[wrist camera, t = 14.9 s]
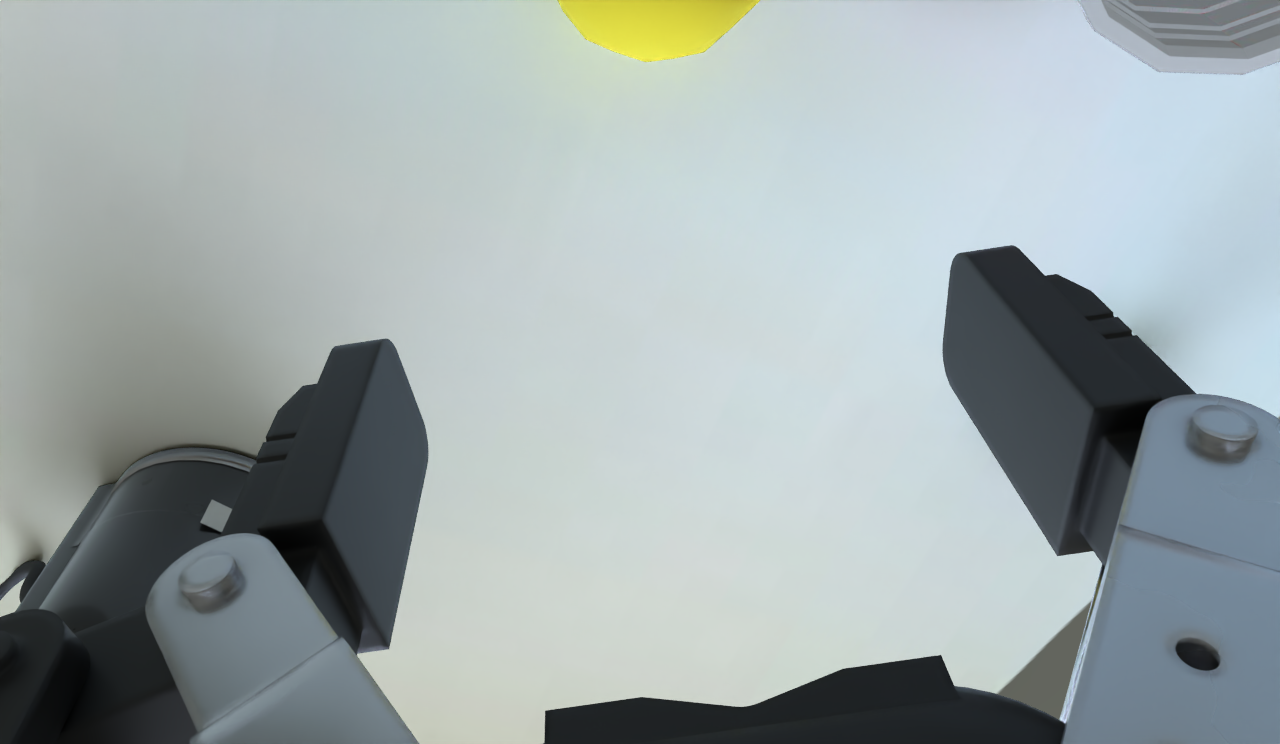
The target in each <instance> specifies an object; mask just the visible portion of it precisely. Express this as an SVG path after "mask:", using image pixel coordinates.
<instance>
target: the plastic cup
mask: <svg viewBox="0 0 1280 744" xmlns="http://www.w3.org/2000/svg"><path fill="white" fill-rule="evenodd" d="M1078 3H1079V5H1080V7H1081V9H1082V11H1083V13H1084V15H1085V18H1086V20H1087V21H1088V23H1089V24H1090V26H1091V27H1092V29H1093V30H1094V31H1095V32H1097V33H1098V34H1100V35H1101V36H1103V37H1105V38H1106V39H1108V40H1109V41H1111V42H1112V43H1114V44H1116V45H1117V46H1119V47H1120V48H1122V49H1123V50H1125V51H1127V52H1128V53H1130V54H1131V55H1133V56H1134V57H1136V58H1138V59H1139V60H1141V61H1142V62H1144V63H1145V64H1147V65H1149V66H1150V67H1152V68H1153V69H1155V70H1156V71H1158V72H1173V73H1204V74H1234V75H1243V74H1246V73H1249V72H1252V71H1255V70H1257V69H1260V68H1263V67H1266V66H1268V65H1271V64H1274V63H1277V62H1280V0H1078Z"/></svg>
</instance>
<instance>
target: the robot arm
mask: <svg viewBox="0 0 1280 744" xmlns="http://www.w3.org/2000/svg"><path fill="white" fill-rule="evenodd" d="M943 361H944V367H945V372H946V375H947V378H948V381H949V383H950V386H951V387H952V389H953V391H954V393H955V394H956V396H957V397H958V399H959V400H960V402H961V404H962V405H963V407H964V408H965V410H966V412H967V413H968V415H969V416H970V418H971V420H972V421H973V423H974V424H975V426H976V427H977V429H978V431H979V432H980V434H981V435H982V437H983V439H984V440H985V442H986V443H987V445H988V447H989V448H990V450H991V451H992V453H993V454H994V456H995V458H996V459H997V461H998V462H999V464H1000V466H1001V467H1002V469H1003V470H1004V472H1005V474H1006V475H1007V477H1008V478H1009V480H1010V481H1011V483H1012V485H1013V486H1014V488H1015V489H1016V491H1017V493H1018V494H1019V496H1020V497H1021V499H1022V501H1023V502H1024V504H1025V505H1026V507H1027V508H1028V510H1029V512H1030V513H1031V515H1032V516H1033V518H1034V520H1035V521H1036V523H1037V524H1038V526H1039V528H1040V529H1041V531H1042V532H1043V534H1044V535H1045V537H1046V539H1047V540H1048V542H1049V543H1050V545H1051V547H1052V548H1053V550H1054V551H1055V553H1056V555H1057V556H1061V555H1068V554H1075V553H1082V552H1089V551H1094V552H1095V554H1096V555H1097V557H1098V558H1099V560H1100V561H1101V562H1102V567H1101V570H1100V573H1099V577H1098V580H1097V584H1096V587H1095V591H1094V595H1093V599H1092V602H1091V606H1090V610H1089V614H1088V617H1087V621H1086V625H1085V629H1084V633H1083V636H1082V640H1081V643H1080V647H1079V651H1078V655H1077V658H1076V662H1075V666H1074V670H1073V673H1072V677H1071V681H1070V684H1069V688H1068V692H1067V695H1066V699H1065V702H1064V706H1063V710H1062V713H1061V717H1060V720H1058V719H1056V718H1054V717H1053V716H1051V715H1049V714H1047V713H1045V712H1043V711H1041V710H1038V709H1036V708H1034V707H1031V706H1029V705H1027V704H1024V703H1022V702H1019V701H1017V700H1013V699H1010V698H1007V697H1004V696H1001V695H998V694H995V693H991V692H986V691H981V690H976V689H972V688H966V687H957V686H954V685H953V682H952V680H951V678H950V675H949V673H948V671H947V668H946V666H945V663H944V661H943V659H942V656H941V655H939V656H931V657H924V658H917V659H910V660H903V661H896V662H889V663H882V664H875V665H867V666H860V667H853V668H846V669H842V670H839V671H837V672H834V673H832V674H829V675H827V676H824V677H822V678H819V679H817V680H815V681H812V682H810V683H807V684H805V685H802V686H800V687H797V688H795V689H792V690H790V691H787V692H785V693H783V694H780V695H778V696H775V697H773V698H770V699H768V700H765V701H763V702H760V703H758V704H755V705H752V706H746V707H732V706H723V705H713V704H703V703H693V702H683V701H674V700H664V699H654V698H644V697H640V698H633V699H626V700H619V701H612V702H605V703H597V704H590V705H583V706H576V707H569V708H562V709H555V710H548V711H545V743H543V744H1280V420H1279V419H1278V418H1277V417H1275V416H1274V415H1272V414H1270V413H1268V412H1266V411H1265V410H1263V409H1260V408H1258V407H1256V406H1254V405H1251V404H1248V403H1246V402H1243V401H1240V400H1236V399H1232V398H1228V397H1223V396H1217V395H1207V394H1196V393H1195V392H1194V391H1193V390H1192V389H1191V388H1190V387H1189V386H1188V385H1187V384H1186V383H1185V382H1184V381H1183V380H1182V379H1181V378H1180V377H1179V376H1178V375H1177V374H1176V373H1174V372H1173V371H1172V370H1171V369H1170V368H1169V367H1168V366H1167V365H1166V364H1165V363H1164V362H1163V361H1162V360H1161V359H1160V358H1159V357H1158V356H1157V355H1156V354H1155V353H1154V352H1153V351H1152V350H1151V349H1150V348H1149V347H1148V346H1147V345H1146V344H1145V343H1144V342H1143V341H1142V340H1141V339H1140V338H1139V337H1138V336H1137V335H1135V336H1132V330H1131V329H1129V328H1128V327H1127V326H1126V325H1125V324H1124V323H1123V322H1122V321H1121V320H1120V319H1119V318H1118V317H1114V316H1113V312H1112V311H1111V310H1110V309H1109V308H1108V307H1107V306H1106V305H1105V304H1104V303H1103V302H1102V301H1101V300H1100V299H1099V298H1098V297H1097V296H1096V295H1095V294H1094V293H1093V292H1092V291H1090V290H1088V289H1086V288H1084V287H1082V286H1080V285H1078V284H1076V283H1074V282H1072V281H1070V280H1068V279H1065V278H1063V277H1061V276H1059V275H1057V274H1054V275H1047V276H1045V275H1044V274H1043V273H1042V272H1041V271H1040V270H1039V269H1038V268H1037V267H1036V266H1035V265H1034V264H1033V263H1032V262H1031V261H1030V260H1029V259H1028V258H1027V257H1026V256H1025V255H1024V254H1023V253H1022V252H1021V250H1020V249H1018V248H1017V247H1015V246H1012V245H1010V246H1004V247H997V248H990V249H984V250H977V251H971V252H964V253H959V254H957V255H956V256H955V257H954V259H953V261H952V265H951V270H950V279H949V288H948V298H947V308H946V318H945V327H944V337H943ZM266 440H267V441H266V442H263V444H262V446H261V449H260V451H259V453H258V455H257V457H256V460H253V459H251V458H248V457H245V456H242V455H239V454H235V453H231V452H227V451H222V450H216V449H208V448H178V449H171V450H165V451H161V452H157V453H154V454H152V455H149V456H146V457H144V458H142V459H140V460H139V461H137V462H136V463H134V464H133V465H131V466H130V467H129V468H128V469H127V470H126V471H125V472H124V473H123V474H122V476H121V477H120V479H119V480H118V482H117V483H114V484H110V485H103V486H99V487H98V488H97V490H96V491H95V493H94V494H93V496H92V497H91V499H90V500H89V502H88V503H87V505H86V506H85V508H84V509H83V511H82V512H81V514H80V515H79V517H78V518H77V520H76V521H75V523H74V524H73V526H72V527H71V529H70V530H69V532H68V533H67V535H66V536H65V538H64V539H63V541H62V542H61V544H60V545H59V547H58V548H57V550H56V551H55V553H54V554H53V556H52V557H51V559H50V560H49V562H48V563H47V565H46V564H45V563H44V562H41V561H34V560H32V561H28V562H26V563H24V564H22V565H21V566H20V567H18V568H17V569H16V570H15V571H14V572H13V573H12V575H11V576H10V577H9V578H8V579H7V580H6V581H5V582H4V583H2V584H1V585H0V600H1V599H2V598H3V597H4V596H5V594H6V593H7V592H8V591H9V590H10V589H11V588H12V587H13V586H15V585H16V584H17V583H19V582H20V581H21V580H23V579H25V578H26V579H25V581H24V583H23V585H22V587H21V591H20V602H21V604H20V605H19V607H18V608H17V610H16V611H15V612H14V613H11V614H8V615H5V616H2V617H0V744H419V743H418V741H417V740H416V738H415V737H414V736H413V734H412V733H411V731H410V730H409V729H408V727H407V726H406V724H405V723H404V722H403V720H402V719H401V717H400V716H399V715H398V713H397V712H396V710H395V709H394V707H393V706H392V705H391V703H390V702H389V700H388V699H387V698H386V696H385V695H384V693H383V692H382V691H381V689H380V688H379V686H378V685H377V684H376V682H375V681H374V679H373V678H372V676H371V675H370V674H369V672H368V671H367V669H366V668H365V667H364V665H363V664H362V662H361V661H360V660H359V658H358V657H357V653H364V652H371V651H378V650H385V649H389V646H390V642H391V637H392V632H393V627H394V622H395V618H396V613H397V608H398V603H399V598H400V594H401V589H402V584H403V579H404V574H405V570H406V565H407V560H408V555H409V550H410V546H411V541H412V536H413V531H414V526H415V522H416V517H417V512H418V507H419V502H420V498H421V493H422V488H423V483H424V478H425V474H426V469H427V463H428V441H427V434H426V429H425V425H424V422H423V419H422V416H421V414H420V411H419V408H418V406H417V403H416V400H415V398H414V395H413V392H412V390H411V387H410V384H409V382H408V379H407V376H406V374H405V371H404V368H403V366H402V363H401V360H400V358H399V355H398V353H397V350H396V348H395V346H394V345H393V343H392V342H391V341H390V340H389V339H379V340H373V341H366V342H360V343H353V344H346V345H340V346H335V347H334V348H333V349H332V350H331V352H330V355H329V357H328V359H327V362H326V364H325V366H324V369H323V371H322V374H321V376H320V378H319V381H318V383H317V384H312V385H306V386H302V387H301V388H300V389H299V390H298V391H297V392H296V393H295V394H294V395H293V396H292V397H291V398H290V399H289V400H288V401H287V402H286V403H285V404H284V405H283V406H282V407H281V408H280V409H279V410H278V412H277V414H276V416H275V418H274V420H273V423H272V425H271V427H270V429H269V431H268V433H267V436H266Z"/></svg>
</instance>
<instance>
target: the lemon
mask: <svg viewBox="0 0 1280 744" xmlns="http://www.w3.org/2000/svg"><path fill="white" fill-rule="evenodd" d="M759 1H760V0H558V2H559V4H560V6H561V8H562V10H563V12H564V13H565V14H566V16H567V17H568V18H569V19H570V21H571V22H572V23H573V24H574V26H575V27H576V28H577V29H578V30H579V32H580V33H581V34H582V35H583V37H584V38H585V39H586V40H588V41H591V42H593V43H595V44H597V45H600V46H602V47H604V48H606V49H609V50H611V51H613V52H616V53H619V54H622V55H625V56H628V57H631V58H634V59H637V60H640V61H643V62H651V61H659V60H667V59H674V58H679V57H684V56H688V55H693V54H698V53H703V52H705V51H706V50H707V49H708V48H709V47H711V46H712V45H713V44H714V43H715V42H716V41H717V40H718V39H720V38H721V37H722V36H723V35H724V34H725V33H726V32H727V31H729V30H730V29H731V28H732V27H733V26H734V25H735V24H736V23H737V22H738V21H739V20H740V19H741V18H742V17H743V16H744V15H746V14H747V13H748V12H749V11H750V10H751V9H752V8H753V7H754V6H755V5H756V4H757V3H758V2H759Z"/></svg>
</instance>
